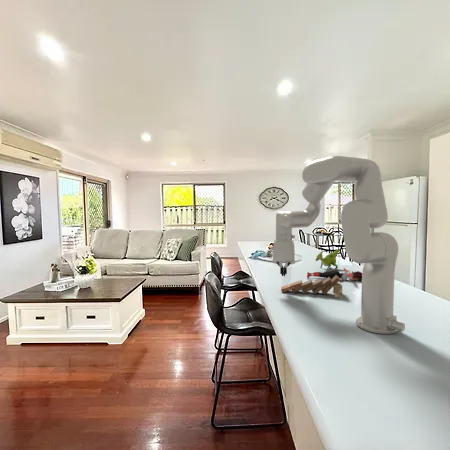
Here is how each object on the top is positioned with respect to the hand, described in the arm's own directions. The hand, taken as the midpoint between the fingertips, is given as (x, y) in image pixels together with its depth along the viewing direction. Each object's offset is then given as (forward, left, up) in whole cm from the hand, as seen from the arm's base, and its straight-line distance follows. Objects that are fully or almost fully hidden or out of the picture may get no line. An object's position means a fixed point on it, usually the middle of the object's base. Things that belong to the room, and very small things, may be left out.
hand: (283, 275), depth 140 cm
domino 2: (-3, -3, -7) cm, 8 cm away
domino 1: (0, +1, -7) cm, 7 cm away
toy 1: (+25, -61, -8) cm, 67 cm away
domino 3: (-6, -6, -7) cm, 11 cm away
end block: (-17, -17, -8) cm, 26 cm away
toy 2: (+3, -41, -8) cm, 42 cm away
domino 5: (-13, -13, -7) cm, 19 cm away
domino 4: (-10, -10, -7) cm, 15 cm away
